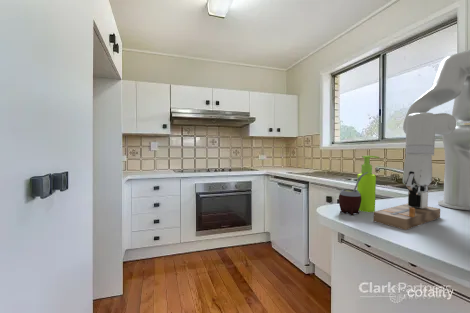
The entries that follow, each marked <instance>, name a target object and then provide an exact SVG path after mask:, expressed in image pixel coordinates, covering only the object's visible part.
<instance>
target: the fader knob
mask: <svg viewBox="0 0 470 313" xmlns="http://www.w3.org/2000/svg"><path fill="white" fill-rule="evenodd" d="M407 194H408V193H407ZM419 195H421V205H420V207H419V208H425V207H429V206H428V204H429V191H428V192H425V191H420V194H419ZM408 202H409V194H408V196H407V203H408ZM408 206H409V205H408ZM412 207H413V206H412ZM417 208H418V207H417Z"/></svg>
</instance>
